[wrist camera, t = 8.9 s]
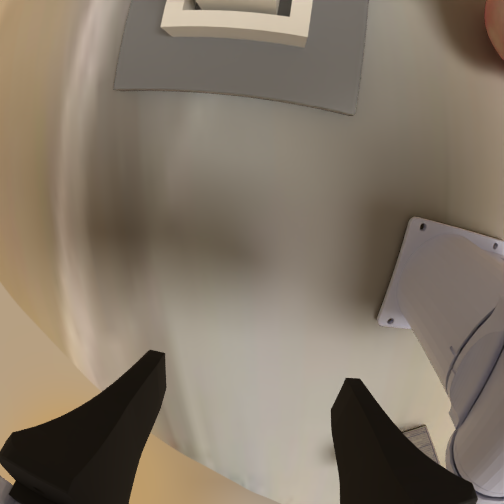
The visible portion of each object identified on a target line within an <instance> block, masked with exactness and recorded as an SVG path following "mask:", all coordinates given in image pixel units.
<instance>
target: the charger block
mask: <svg viewBox="0 0 504 504" xmlns="http://www.w3.org/2000/svg"><path fill="white" fill-rule="evenodd" d="M196 2H197V3H198V5H199V7H200V8H201V10H222V11H240V12H253V13H263V14H272V15H277V14H278V8H279V3H280V0H196Z"/></svg>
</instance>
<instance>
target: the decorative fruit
mask: <svg viewBox="0 0 504 504" xmlns="http://www.w3.org/2000/svg"><path fill="white" fill-rule="evenodd" d="M484 18H485V26H486V30H487V33H488V36H489V38H490V40H491V43H492V44H493V46H494V48H495V49H496V51H497V53H498V54H499V55H500V57H501V58H502V59H503V61H504V0H486V5H485V12H484Z"/></svg>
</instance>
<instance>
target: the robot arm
mask: <svg viewBox="0 0 504 504" xmlns="http://www.w3.org/2000/svg"><path fill="white" fill-rule="evenodd" d="M423 223H424V228H423V229H420V225H421V224H423ZM494 243H495V245H494ZM493 245H494V247H493ZM390 318H392V320H391V321H388V320H389V319H390ZM377 322H378V324H379V325H380V326H385V327H395V328H406V329H412V330H413V332H414V334H415V335H416V337H417V339H418V341H419V342H420V344H421V346H422V348H423V350H424V351H425V353H426V355H427V357H428V359H429V360H430V362H431V364H432V366H433V368H434V370H435V372H436V373H437V375H438V377H439V379H440V381H441V383H442V385H443V387H444V389H445V391H446V393H447V395H448V397H449V399H450V401H451V409H450V411H449V415H450V417H451V419H452V421H453V423H454V426H455V428H456V430H455V431H454V433H453V434H452V436H451V437H450V440H449V442H448V445H447V449H446V459H445V461H446V468H447V469H445V468H444V467H442V466H440V465H439V464H438V463H436V462H435V461H433V460H432V459H431V458H429V457H428V456H427V455H426V454H424V453H423V452H422V451H421V450H420V449H418V448H417V447H416V446H415V445H414V444H413V443H412V442H411V441H410V440H409V439H408V438H407V437H406V436H405V435H404V434H403V433H402V432H401V431H400V430H399V429H398V427H397V426H396V425H395V424H394V423H393V422H392V420H391V419H390V418H389V417H388V416H387V414H386V413H385V412H384V410H383V409H382V408H381V407H380V405H379V404H378V403H377V401H376V400H375V399H374V397H373V396H372V394H371V393H370V392H369V390H368V389H367V388H366V386H365V385H364V384H363V382H362V381H361V380H360V379H356V378H346V379H345V381H344V384H343V386H342V388H341V390H340V392H339V394H338V396H337V398H336V400H335V402H334V404H333V406H332V408H331V428H332V436H333V442H334V448H335V454H336V460H337V466H338V472H339V480H340V504H476V503H478V504H504V241H502V240H499V239H496V238H493V237H489V236H486V235H483V234H479V233H476V232H472V231H469V230H465V229H462V228H458V227H454V226H451V225H447V224H443V223H439V222H436V221H432V220H428V219H424V218H420V217H412V218H411V219H410V220H409V222H408V226H407V229H406V233H405V236H404V240H403V243H402V247H401V250H400V253H399V256H398V260H397V263H396V266H395V269H394V272H393V275H392V278H391V281H390V284H389V287H388V289H387V292H386V295H385V298H384V301H383V303H382V306H381V309H380V311H379V314H378V317H377ZM165 391H166V370H165V353H162V352H158V351H153V350H149V351H148V352H147V353H146V354H145V355H144V356H143V357H142V358H141V359H140V360H139V361H138V362H136V363H135V364H134V365H133V366H132V367H131V368H130V369H129V370H128V371H127V372H126V373H124V374H123V375H122V376H121V377H120V378H119V379H118V380H116V381H115V382H114V383H113V384H111V385H110V386H109V387H108V388H106V389H105V390H104V391H102V392H101V393H100V394H98V395H97V396H95V397H94V398H93V399H91V400H90V401H88V402H86V403H85V404H83V405H82V406H80V407H78V408H76V409H74V410H73V411H71V412H69V413H67V414H65V415H63V416H61V417H58V418H56V419H54V420H51V421H49V422H46V423H44V424H41V425H38V426H36V427H32V428H28V429H24V430H21V431H17V432H13V433H12V434H11V435H10V437H9V438H8V439H7V441H6V442H5V444H4V446H3V448H2V449H1V451H0V463H1V465H2V466H3V467H4V468H5V469H6V470H7V471H8V473H9V474H10V475H11V476H12V477H13V478H14V479H15V480H16V481H15V483H14V485H12V484H11V483H9V482H8V481H7V480H5V479H4V478H2V477H1V476H0V504H129V499H130V494H131V490H132V486H133V482H134V478H135V474H136V470H137V467H138V463H139V459H140V457H141V453H142V451H143V448H144V446H145V444H146V441H147V439H148V437H149V434H150V432H151V430H152V427H153V425H154V423H155V420H156V418H157V416H158V413H159V411H160V408H161V405H162V401H163V398H164V394H165Z"/></svg>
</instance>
